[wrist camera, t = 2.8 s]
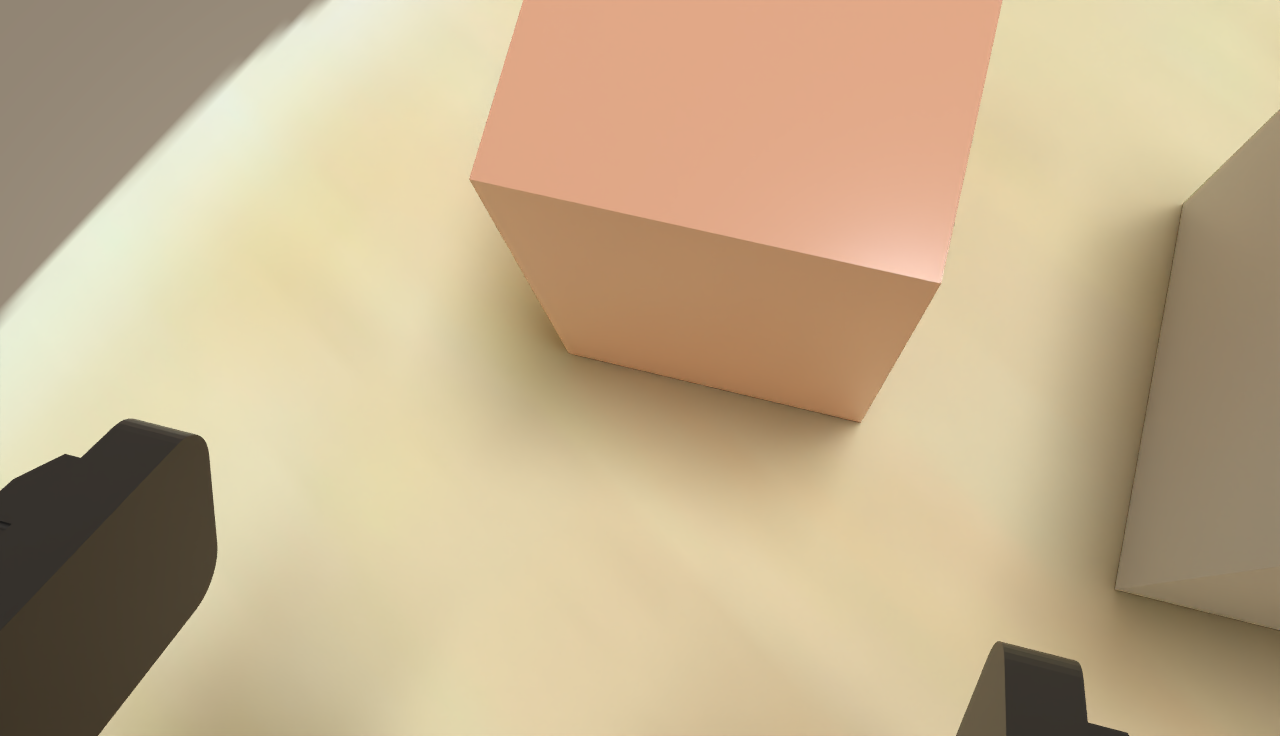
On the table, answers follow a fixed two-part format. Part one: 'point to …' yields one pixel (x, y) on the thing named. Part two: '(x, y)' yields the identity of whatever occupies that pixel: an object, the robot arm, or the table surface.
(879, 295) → the terracotta clay block
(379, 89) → the table surface
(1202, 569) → the grey upright block
